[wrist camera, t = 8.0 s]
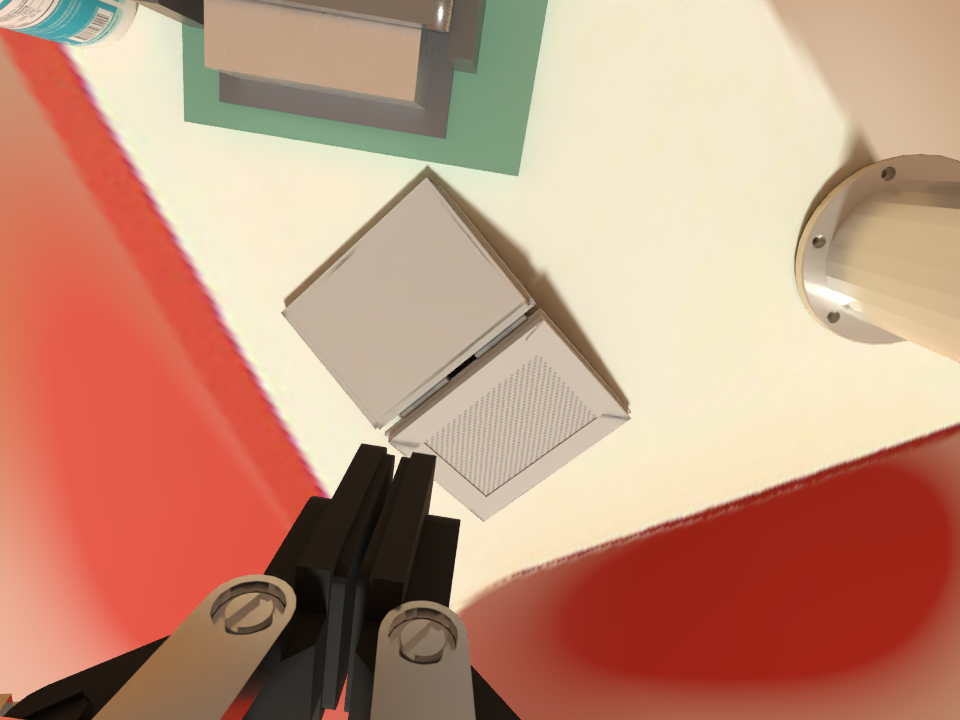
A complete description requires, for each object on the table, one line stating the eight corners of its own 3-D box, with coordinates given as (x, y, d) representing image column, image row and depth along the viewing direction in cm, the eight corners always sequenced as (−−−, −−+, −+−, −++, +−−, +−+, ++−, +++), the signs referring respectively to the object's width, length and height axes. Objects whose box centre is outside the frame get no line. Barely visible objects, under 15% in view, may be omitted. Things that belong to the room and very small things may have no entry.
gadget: (285, 310, 42) (265, 323, 38) (432, 172, 38) (424, 172, 35) (483, 511, 47) (480, 539, 43) (629, 408, 43) (640, 429, 40)
